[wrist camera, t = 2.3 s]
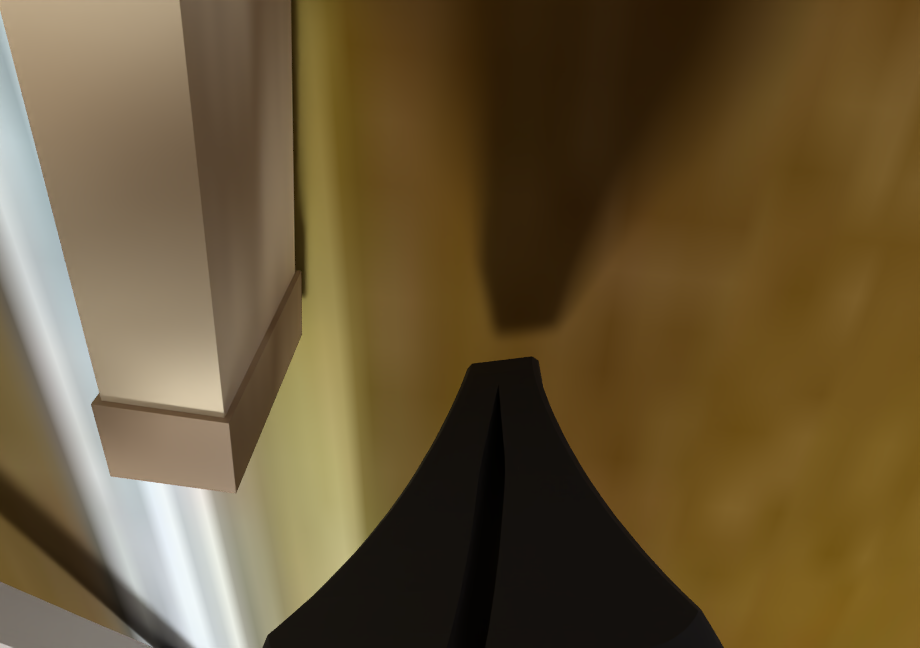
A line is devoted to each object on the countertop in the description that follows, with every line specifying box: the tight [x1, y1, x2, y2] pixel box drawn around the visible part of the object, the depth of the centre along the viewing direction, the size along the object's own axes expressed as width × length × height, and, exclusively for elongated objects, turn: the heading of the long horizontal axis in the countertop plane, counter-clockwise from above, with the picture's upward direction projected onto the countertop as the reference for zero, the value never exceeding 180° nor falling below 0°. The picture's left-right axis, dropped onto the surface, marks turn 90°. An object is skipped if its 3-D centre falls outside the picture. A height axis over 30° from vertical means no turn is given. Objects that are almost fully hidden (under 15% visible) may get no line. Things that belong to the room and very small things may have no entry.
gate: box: [0, 0, 302, 493], centre depth 9 cm, size 11×2×4 cm, turn 172°
